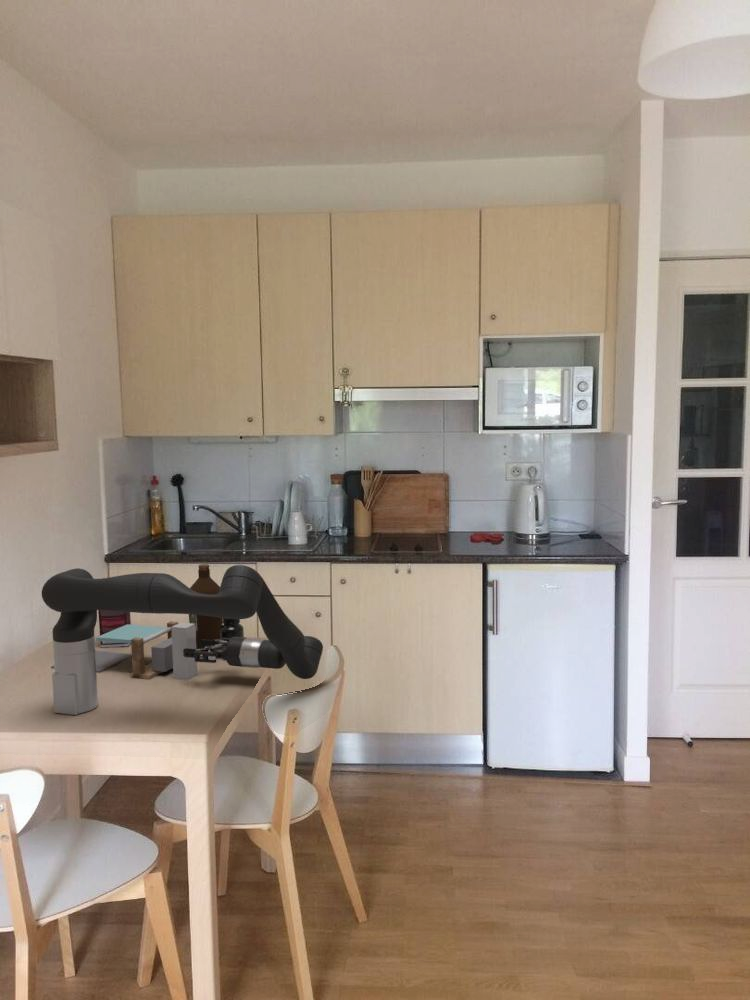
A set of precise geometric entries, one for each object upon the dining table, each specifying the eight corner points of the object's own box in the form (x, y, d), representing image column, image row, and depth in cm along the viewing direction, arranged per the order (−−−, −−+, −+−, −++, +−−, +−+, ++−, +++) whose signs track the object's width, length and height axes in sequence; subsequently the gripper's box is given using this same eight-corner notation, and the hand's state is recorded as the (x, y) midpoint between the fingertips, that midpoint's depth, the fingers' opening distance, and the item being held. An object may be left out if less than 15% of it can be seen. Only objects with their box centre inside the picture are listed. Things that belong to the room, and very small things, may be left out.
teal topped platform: (191, 657, 219) (190, 628, 218) (164, 672, 206) (162, 642, 205) (128, 651, 226) (127, 624, 225) (97, 666, 212) (96, 636, 211)
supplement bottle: (216, 656, 224) (214, 616, 222) (237, 651, 228) (235, 612, 227) (228, 661, 218) (226, 620, 217) (249, 656, 223) (247, 616, 222)
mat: (99, 672, 211) (99, 671, 211) (51, 667, 216) (51, 666, 216) (134, 655, 226) (134, 654, 226) (88, 651, 231) (88, 650, 231)
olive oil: (219, 639, 242) (215, 560, 239) (229, 647, 233) (226, 565, 230) (185, 644, 237) (181, 564, 234) (194, 653, 228) (190, 569, 225)
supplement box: (132, 642, 240) (129, 592, 239) (128, 646, 235) (125, 595, 234) (104, 643, 240) (101, 593, 238) (99, 647, 235) (96, 596, 233)
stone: (188, 679, 204) (186, 628, 202) (173, 678, 205) (171, 626, 204) (197, 674, 208) (195, 623, 206) (182, 673, 209) (180, 622, 208)
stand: (188, 658, 223) (186, 622, 222) (149, 679, 204) (148, 640, 203) (170, 656, 224) (168, 621, 223) (130, 677, 206) (128, 639, 205)
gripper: (259, 631, 206) (205, 627, 211) (234, 645, 193) (177, 641, 198) (260, 658, 207) (206, 653, 212) (235, 675, 194) (178, 669, 198)
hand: (192, 647), depth 205 cm, fingers open, 8 cm apart
